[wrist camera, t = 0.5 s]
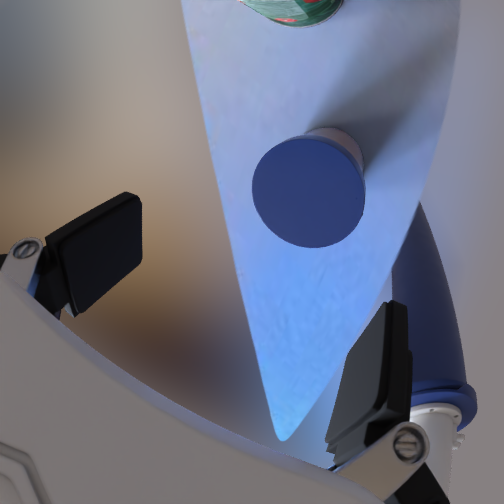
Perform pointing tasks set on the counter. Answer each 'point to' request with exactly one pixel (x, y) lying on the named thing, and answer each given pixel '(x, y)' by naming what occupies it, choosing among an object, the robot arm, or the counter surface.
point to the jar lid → (309, 191)
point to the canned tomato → (295, 11)
